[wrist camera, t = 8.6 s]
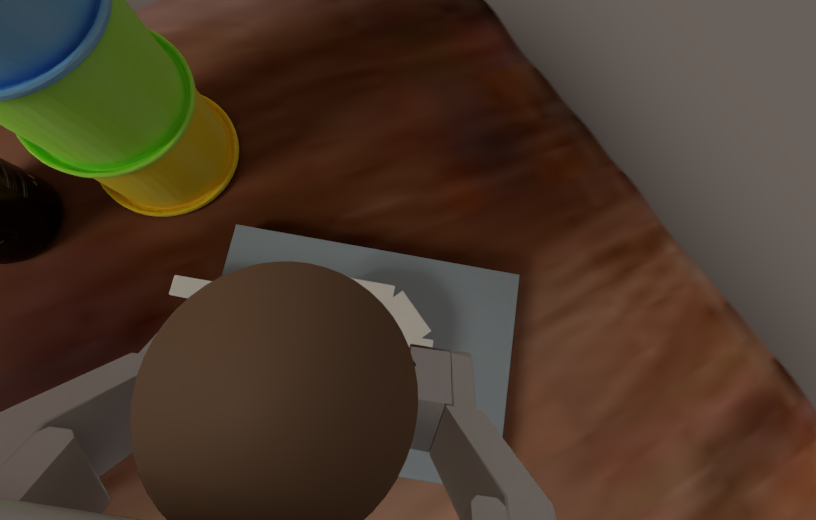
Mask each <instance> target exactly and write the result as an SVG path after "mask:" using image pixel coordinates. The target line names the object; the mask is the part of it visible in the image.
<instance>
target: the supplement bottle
mask: <svg viewBox="0 0 816 520" xmlns="http://www.w3.org/2000/svg"><path fill="white" fill-rule="evenodd" d="M62 214H63V211H62V204H61V200H60V198H59V196H58V194H57V192H56V191H55V190H54V188H53V187H52V186H51V185H50V184H49V183H47V182H46V181H44V180H43V179H41V178H39V177H38V176H36V175H34V174H32V173H30V172H28V171H26V170H24V169H22V168H20V167H18V166H16V165H13V164H11V163H9V162H7V161H5V160H3V159H1V158H0V264H8V263H14V262H18V261H22V260H24V259H27V258H29V257H31V256H33V255H35V254H37V253H38V252H40V251H41V250H42V249H44V248H45V247H46V246H47V245H48V244H49V243H50V242H51V241H52V240H53V238H54V237H55V235H56V234H57V232H58V230H59V228H60V225H61V222H62Z"/></svg>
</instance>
